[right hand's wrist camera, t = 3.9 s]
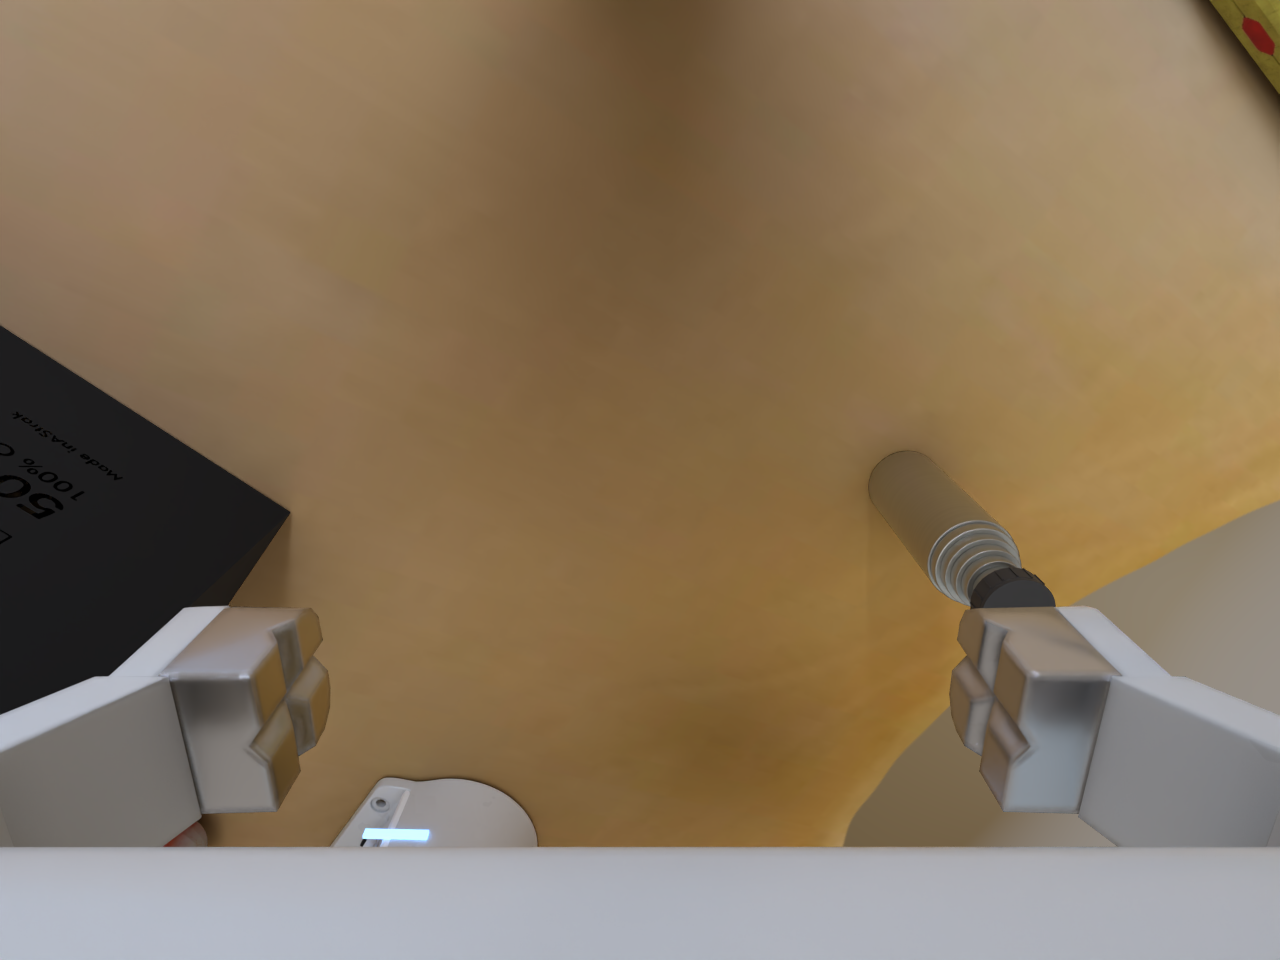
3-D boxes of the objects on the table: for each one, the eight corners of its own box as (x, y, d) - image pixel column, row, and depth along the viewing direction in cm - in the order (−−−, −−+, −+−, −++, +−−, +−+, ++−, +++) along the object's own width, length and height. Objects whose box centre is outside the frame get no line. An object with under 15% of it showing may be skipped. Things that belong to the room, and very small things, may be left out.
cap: (1020, 552, 43) (1033, 565, 41) (1055, 604, 44) (1069, 618, 42) (955, 593, 43) (966, 607, 42) (992, 642, 45) (1004, 658, 43)
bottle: (914, 436, 59) (1035, 545, 41) (951, 489, 61) (1083, 616, 43) (854, 478, 60) (946, 602, 42) (892, 529, 62) (996, 669, 44)
